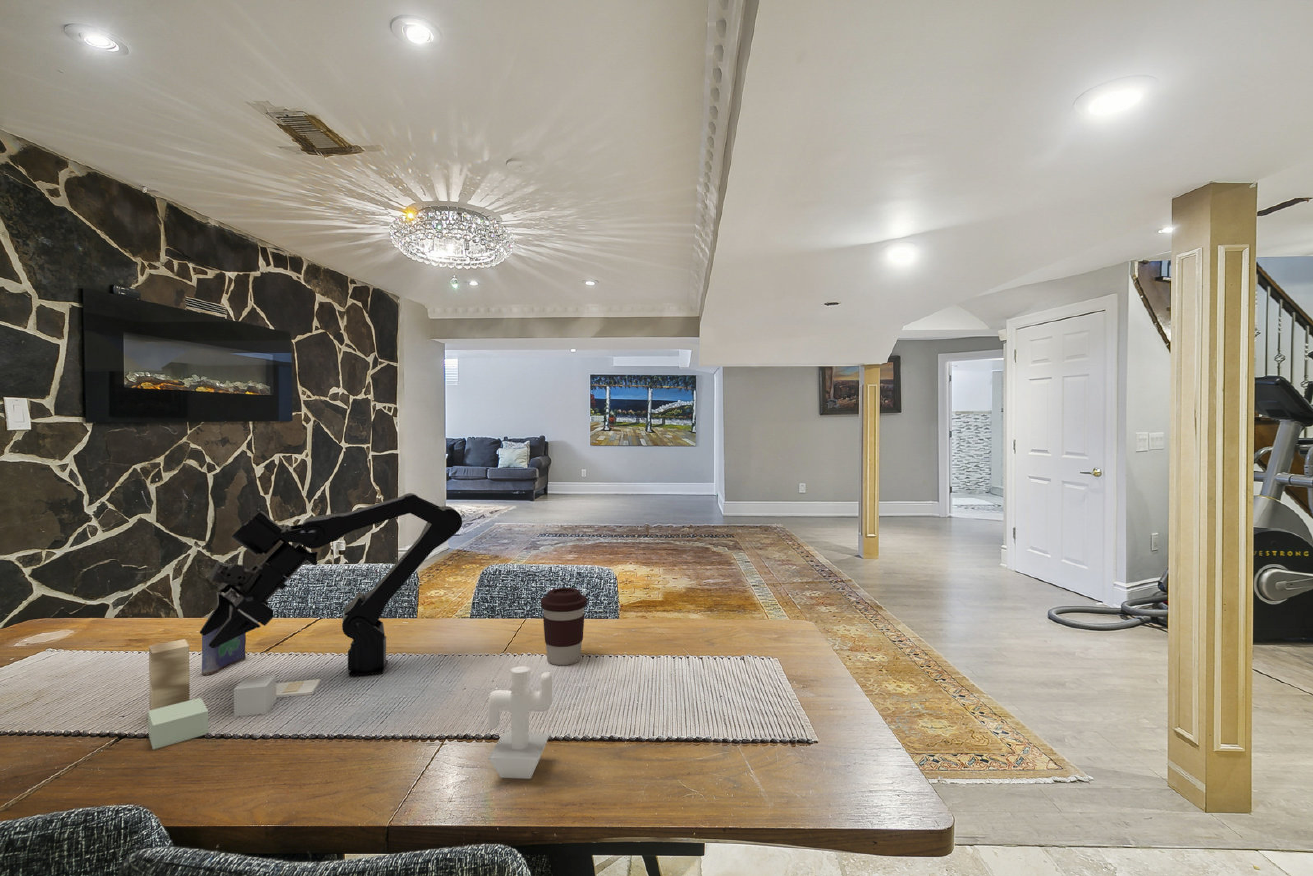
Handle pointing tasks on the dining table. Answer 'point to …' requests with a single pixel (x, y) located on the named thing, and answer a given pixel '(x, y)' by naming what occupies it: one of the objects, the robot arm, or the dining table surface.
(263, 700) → the grey cube
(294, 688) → the card
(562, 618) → the coffee cup
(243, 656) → the flask
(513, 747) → the figurine
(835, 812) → the dining table surface
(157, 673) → the maple pillar
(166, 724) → the sage base block
